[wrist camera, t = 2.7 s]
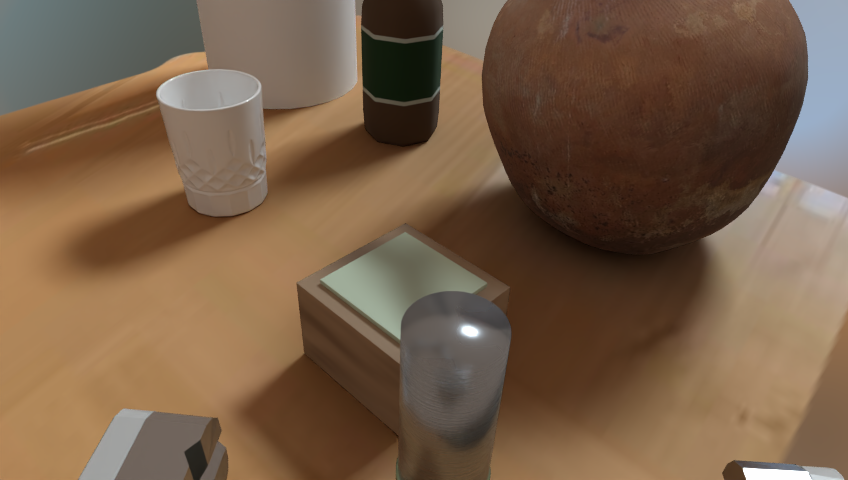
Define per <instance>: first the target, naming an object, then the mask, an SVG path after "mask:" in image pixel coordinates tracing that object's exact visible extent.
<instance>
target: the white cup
mask: <svg viewBox="0 0 848 480" xmlns="http://www.w3.org/2000/svg"><path fill="white" fill-rule="evenodd" d="M156 97H157V100H158V104H159V107H160V111H161V114H162V118H163V122H164V125H165V129H166V133H167V136H168V140H169V144H170V147H171V150H172V153H173V156H174V159H175V163H176V166H177V169H178V173H179V175H180V176H181V178H182V182H183V185H184V189H185V192H186V196H187V200H188V203H189V205H190V206H191V207H192V208H193V209H195V210H196V211H197V212H198V213H201V214H205V215H209V216H214V217H219V216H234V215H238V214H241V213H245V212H248V211H250V210H252V209H254V208H255V207H257V206H258V205H260V204H261V203H262V202H263V201H264V199H265V197H266V195H267V193H268V190H267V178H266V169H265V168H266V141H265V128H264V116H263V103H262V89H261V83H260V82H259V80H258V79H256V78H255V77H254V76H252V75H249V74H247V73H244V72H240V71H234V70H224V69H212V70H201V71H194V72H189V73H185V74H182V75H179V76H176V77H173V78H171V79H169V80H167V81H166V82H164V83H163V84H162V85H160V87H159V88H158V89H157V92H156Z"/></svg>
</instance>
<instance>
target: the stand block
mask: <svg viewBox="0 0 848 480" xmlns="http://www.w3.org/2000/svg"><path fill="white" fill-rule="evenodd" d="M443 291H461V292H467V293H472V294H475V295H478V296H481V297H483V298H485V299H487V300H489V301H491V302H492V303H494V304H495V305H496V306H497V307H499V308H500V309H501V310H502V312H503V313H504V314H505V315H506V313H507V307H508V300H509V294H510V287H509V286H508V285H506V284H504V283H503V282H501V281H499V280H498V279H496V278H495V277H493V276H491V275H490V274H488V273H486V272H485V271H483V270H481V269H480V268H478V267H477V266H475V265H473V264H472V263H470V262H468V261H467V260H465V259H463V258H462V257H460V256H458V255H457V254H455V253H454V252H452V251H450V250H449V249H447V248H445V247H444V246H442V245H440V244H439V243H437V242H435V241H434V240H432V239H431V238H429V237H427V236H426V235H424V234H422V233H421V232H419V231H417V230H416V229H414V228H413V227H411V226H409V225H408V224H406V223H405V224H403V225H401V226H399V227H398V228H396V229H394V230H392V231H390V232H389V233H387V234H385V235H383V236H381V237H379V238H378V239H376V240H374V241H372V242H370V243H368V244H367V245H365V246H363V247H361V248H359V249H357V250H356V251H354V252H352V253H350V254H348V255H346V256H345V257H343V258H341V259H339V260H337V261H335V262H334V263H332V264H330V265H328V266H326V267H324V268H323V269H321V270H319V271H317V272H315V273H313V274H312V275H310V276H308V277H306V278H304V279H302V280H301V281H299V282H297V292H298V301H299V310H300V319H301V328H302V337H303V346H304V353H305V354H306V355H307V356H308V357H309V358H310V359H311V360H313V361H314V362H315V363H316V364H317V365H318V366H319V367H321V368H322V369H323V370H324V371H325V372H326V373H327V374H329V375H330V376H331V377H332V378H333V379H334V380H335V381H337V382H338V383H339V384H340V385H341V386H342V387H343V388H345V389H346V390H347V391H348V392H349V393H350V394H351V395H353V396H354V397H355V398H356V399H357V400H358V401H359V402H360V403H362V404H363V405H364V406H365V407H366V408H367V409H368V410H370V411H371V412H372V413H373V414H374V415H375V416H376V417H378V418H379V419H380V420H381V421H382V422H383V423H384V424H386V425H387V426H388V427H389V428H390V429H391V430H392V431H394V432H395V433H396V434H397V435H398V436H399V390H400V335H401V321H402V318H403V315H404V313H405V312H406V310H407V309H408V308H409V307H410V306H411V305H412V304H413V303H414V302H415V301H417V300H419V299H420V298H422V297H424V296H427V295H430V294H433V293H437V292H443Z"/></svg>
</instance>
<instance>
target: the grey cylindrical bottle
mask: <svg viewBox="0 0 848 480" xmlns="http://www.w3.org/2000/svg"><path fill="white" fill-rule="evenodd" d="M510 341H511V326H510V323H509V321H508V318H507V317H506V315H505V314H504V313H503V312H502V310H501V309H500V308H499V307H497V306H496V305H495V304H494V303H492V302H491V301H489V300H487V299H485V298H483V297H481V296H478V295H475V294H472V293H467V292H461V291H443V292H437V293H433V294H430V295H427V296H424V297H422V298H420V299H419V300H417V301H415V302H414V303H413V304H412V305H411V306H410V307H409V308H408V309H407V310H406V312H405V313H404V315H403V318H402V321H401V335H400V390H399V445H398V458H397V463H396V480H490V475H491V471H490V463H491V457H492V451H493V445H494V439H495V433H496V427H497V421H498V415H499V408H500V402H501V396H502V390H503V384H504V378H505V372H506V366H507V360H508V354H509V348H510Z"/></svg>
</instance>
